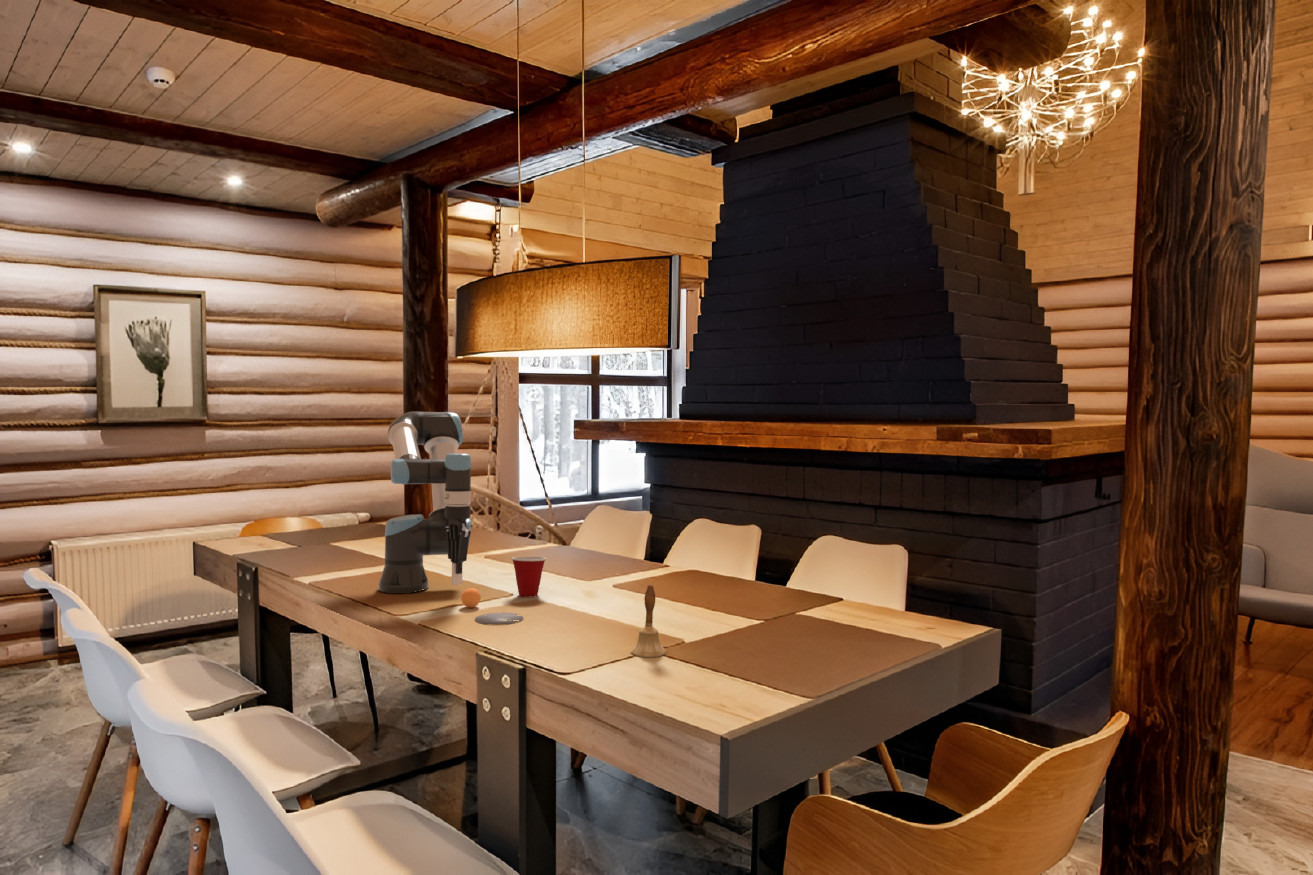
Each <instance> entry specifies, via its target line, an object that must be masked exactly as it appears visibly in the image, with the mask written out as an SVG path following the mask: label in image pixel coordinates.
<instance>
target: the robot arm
mask: <svg viewBox="0 0 1313 875" xmlns="http://www.w3.org/2000/svg"><path fill="white" fill-rule="evenodd" d="M463 434H464V433H463V425H462V420H461V418H460V416H459V414H457V413H456V412H451V411H450V412H449V411H443V412H441V411H440V412H439V411H407V412H406V413H403V414H400V415H399V416H397V417H396V418H395V419H393V421H391V423H390V425H389V427H388V430H387V438H388V441H389V443H390V445H391V446H392V448H393V453H394V458H395V459H392V460H391V461H390V480H391V483H393V484H395V485H397V484H398V485H403V486H404V485H420V484H421V485H422V484H423V485H425V484H427V485H430V484H431V496H432V497H431V498H432V499H431V500H432V511H431V512H430V513H429V514H428V518H425V517H424V515H423V514H421V513H420V514H418V513H417V514H407V515H401V516H396V517H392V518H390V519H387V521H386V523H385V528H384V530H385V532H384V533H383V534H384V537H385V538H384V539H385V540H384V567H383V570H382V573H381V576H380V579H379V582H378V591H379V590H380V591H382V592H381V593H384V592H386V593H385V594H393V593H403V594H410V593H409V592H415V591H419V590H422V589H426V590H428V589H429V579H428V576H427V573H426V569H425V566H424V556H440V555H441V556H443V555H445V556H446V555H447V558H448V560H450V563H451V585H452V586H459V585H463V563H464V562H467V558H468V550H469V545H470V541H471V540H470V539H471V534H472V532H471V530H472V519H471V516H472V515H471V512H472V511H471V506H470V505H471V503H472V491H471V490H472V489H471V480H472V479H471V477H472V457H471V455H470V454H469V453H456V451H457V450H459V446H460V445H461V444H462V443H463V438H464V436H463ZM419 446H423V447H424V450H425V452H427V453H428V454H429V458H421V453H420V450H419ZM427 588H428V589H427ZM380 591H379V592H380ZM415 593H416V592H415Z"/></svg>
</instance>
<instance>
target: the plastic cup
mask: <svg viewBox="0 0 1313 875" xmlns="http://www.w3.org/2000/svg"><path fill="white" fill-rule="evenodd" d="M511 560H512V563H513V567H514V573H515V580H516V586H517V591H518V596H519V597H522V598H534V597H536V596H538V594H539V590H540V584H541V579H542V573H543V568H544V565H545V562H546V561H547V558H546V557H544V556H543V557H542V556H513V557H511Z"/></svg>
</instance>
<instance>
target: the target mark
mask: <svg viewBox="0 0 1313 875" xmlns="http://www.w3.org/2000/svg"><path fill="white" fill-rule="evenodd" d="M485 615H486V616H485ZM506 615H507V616H506ZM514 615H515V616H514ZM517 615H520V614H518V613H512V612H489V613H484V614H481V615H478V616H476V617H475V618H474V621H475V620H476V621H477V622H476V621H475V622H476V623H478V622H479V623H478V624H481V623H482V624H483V625H487V624H506V625H513V624H516V623H515V622H517V623H519V622H518V621H513V620H519V621H520V622H522V621H523V620H524V617H523V615H521V616H517ZM502 620H507V621H502ZM510 620H511V621H510ZM521 620H522V621H521ZM512 623H513V624H512Z"/></svg>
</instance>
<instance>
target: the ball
mask: <svg viewBox="0 0 1313 875" xmlns="http://www.w3.org/2000/svg"><path fill="white" fill-rule="evenodd" d="M481 596H482V595H481V593H480V592H479V590H478V589H476V588H473V587H472V588H471V587H470V588H467V589H465V590H464V591H463V592H462V594H461V598H460V599H461V600H460V601H461V602H462V604H463V606H465V607H467V608H471V609H472V608H475V607H476V606H478V605H479V604H480V602H481V599H482V597H481Z"/></svg>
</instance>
